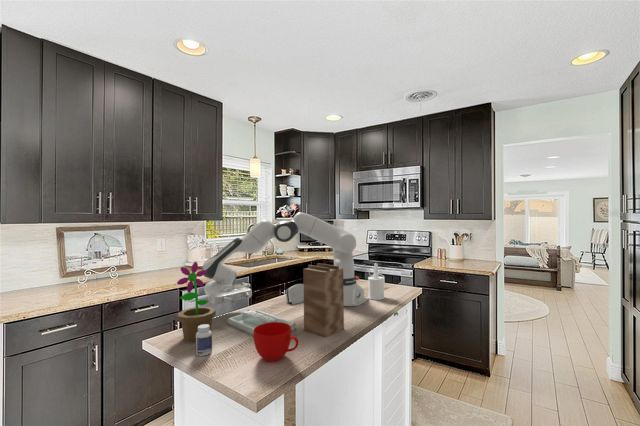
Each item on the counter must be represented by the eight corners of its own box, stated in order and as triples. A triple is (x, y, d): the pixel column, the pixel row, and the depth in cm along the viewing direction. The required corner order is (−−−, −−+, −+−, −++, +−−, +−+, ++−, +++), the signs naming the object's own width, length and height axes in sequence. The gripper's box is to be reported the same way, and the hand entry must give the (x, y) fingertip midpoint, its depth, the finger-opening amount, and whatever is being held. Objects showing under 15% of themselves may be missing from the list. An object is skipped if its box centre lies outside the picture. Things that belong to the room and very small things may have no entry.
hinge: (292, 304, 170) (288, 286, 172) (287, 305, 173) (283, 287, 175) (314, 298, 181) (310, 281, 184) (309, 299, 184) (305, 282, 187)
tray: (257, 315, 153) (257, 309, 153) (295, 329, 134) (295, 323, 134) (227, 323, 141) (227, 318, 141) (265, 341, 122) (265, 334, 122)
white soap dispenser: (374, 301, 174) (374, 265, 174) (364, 297, 182) (364, 262, 182) (389, 298, 179) (389, 263, 179) (379, 294, 188) (378, 261, 187)
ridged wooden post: (323, 322, 142) (322, 262, 142) (343, 328, 134) (343, 265, 133) (304, 329, 133) (303, 266, 133) (324, 337, 125) (323, 269, 125)
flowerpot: (206, 327, 137) (205, 259, 137) (222, 336, 127) (220, 262, 127) (172, 337, 127) (171, 263, 127) (186, 348, 117) (184, 267, 117)
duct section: (250, 318, 147) (249, 309, 147) (276, 329, 133) (276, 319, 133) (242, 320, 144) (242, 311, 144) (269, 331, 130) (269, 322, 130)
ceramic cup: (286, 373, 98) (286, 341, 98) (245, 361, 106) (245, 331, 106) (308, 356, 109) (308, 327, 109) (269, 346, 117) (269, 319, 117)
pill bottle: (214, 352, 113) (214, 325, 113) (200, 358, 109) (200, 330, 109) (207, 348, 116) (206, 322, 116) (193, 353, 112) (192, 326, 112)
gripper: (205, 291, 150) (220, 296, 141) (242, 283, 165) (258, 288, 155) (205, 304, 150) (220, 310, 141) (242, 295, 165) (258, 300, 155)
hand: (240, 298), depth 148 cm, fingers open, 8 cm apart
